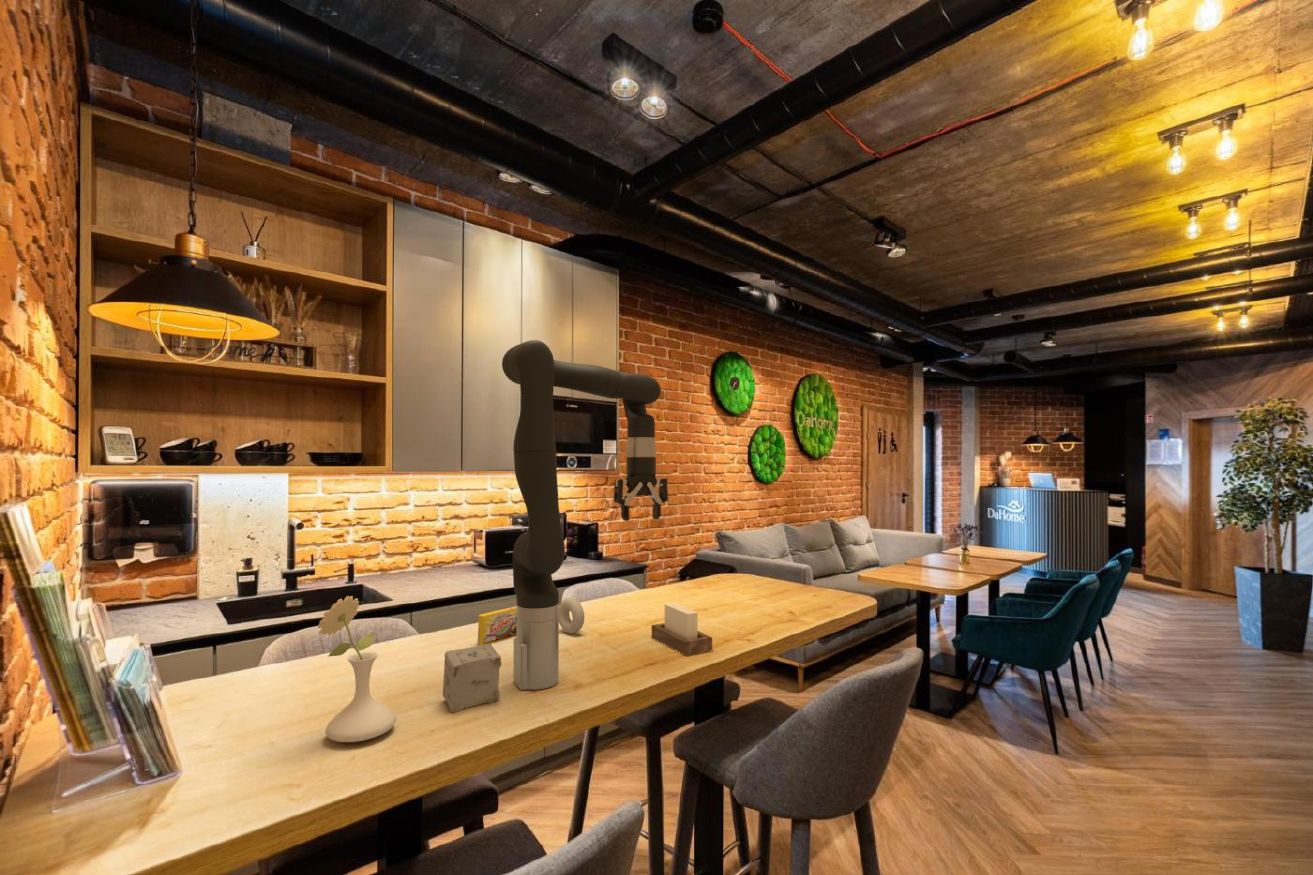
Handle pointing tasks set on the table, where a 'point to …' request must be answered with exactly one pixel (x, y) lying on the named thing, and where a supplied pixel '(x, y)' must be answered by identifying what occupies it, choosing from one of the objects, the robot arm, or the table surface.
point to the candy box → (497, 626)
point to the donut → (577, 615)
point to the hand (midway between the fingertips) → (641, 519)
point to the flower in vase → (363, 712)
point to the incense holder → (471, 677)
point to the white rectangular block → (681, 621)
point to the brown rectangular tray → (682, 641)
